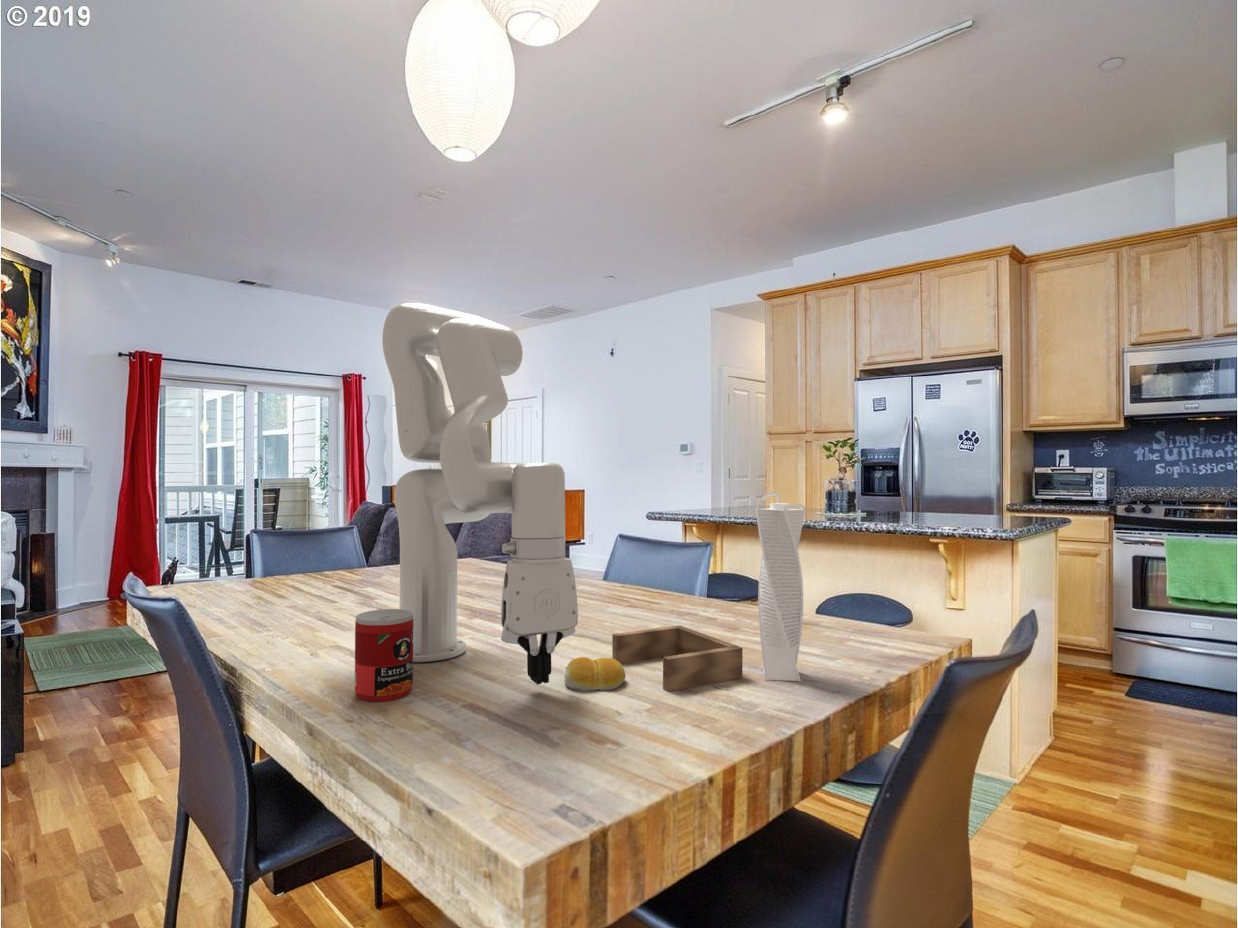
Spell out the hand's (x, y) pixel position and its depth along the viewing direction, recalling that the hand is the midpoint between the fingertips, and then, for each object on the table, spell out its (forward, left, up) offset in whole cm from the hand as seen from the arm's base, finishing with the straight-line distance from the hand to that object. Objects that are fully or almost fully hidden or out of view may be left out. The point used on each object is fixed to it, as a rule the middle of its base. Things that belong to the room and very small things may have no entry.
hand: (539, 680), depth 91 cm
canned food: (-19, +10, -2) cm, 22 cm away
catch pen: (+22, 0, -2) cm, 22 cm away
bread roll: (+9, +1, -2) cm, 9 cm away
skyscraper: (+36, -10, -2) cm, 37 cm away
